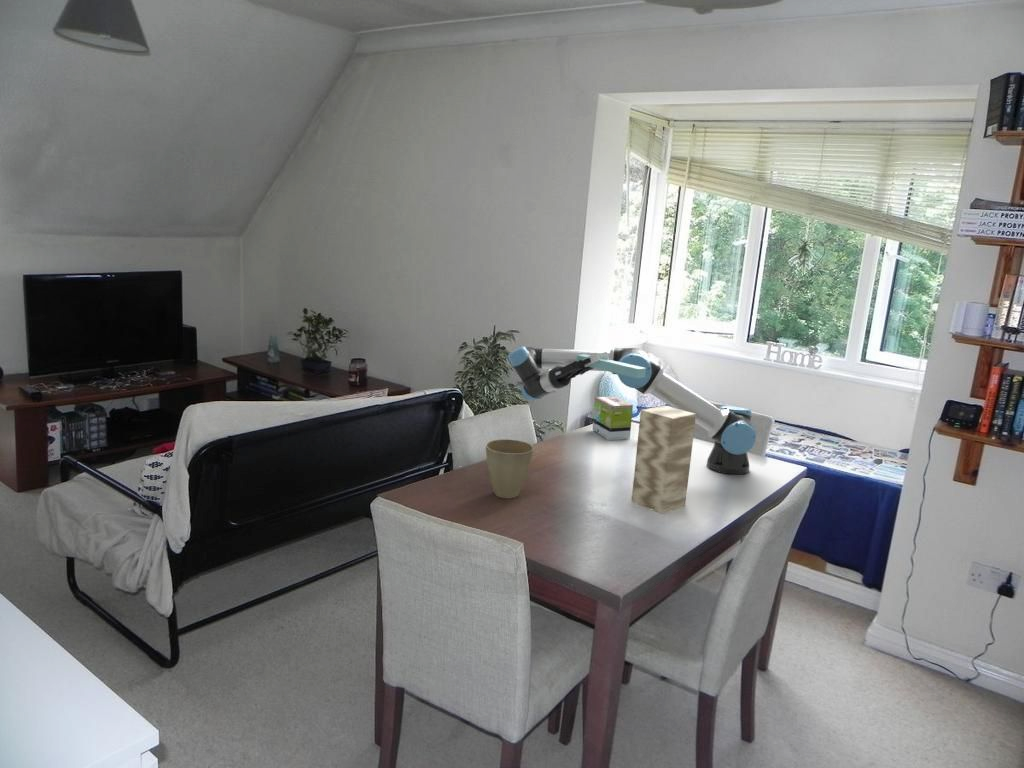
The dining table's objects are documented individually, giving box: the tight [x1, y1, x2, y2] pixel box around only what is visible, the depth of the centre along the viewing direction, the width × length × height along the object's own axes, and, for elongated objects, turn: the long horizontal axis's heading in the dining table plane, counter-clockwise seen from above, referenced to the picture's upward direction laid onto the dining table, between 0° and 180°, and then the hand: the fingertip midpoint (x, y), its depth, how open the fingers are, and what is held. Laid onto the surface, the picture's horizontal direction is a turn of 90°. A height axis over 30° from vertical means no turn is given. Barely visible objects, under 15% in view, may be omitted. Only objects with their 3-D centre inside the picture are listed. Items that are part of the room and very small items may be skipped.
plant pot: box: [485, 438, 534, 499], centre depth 245 cm, size 15×15×16 cm
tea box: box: [592, 395, 634, 441], centre depth 323 cm, size 15×10×15 cm
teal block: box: [576, 354, 646, 378], centre depth 257 cm, size 26×4×3 cm, turn 43°
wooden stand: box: [631, 405, 696, 515], centre depth 245 cm, size 12×12×30 cm
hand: (602, 355), depth 258 cm, fingers closed on teal block, 4 cm apart
